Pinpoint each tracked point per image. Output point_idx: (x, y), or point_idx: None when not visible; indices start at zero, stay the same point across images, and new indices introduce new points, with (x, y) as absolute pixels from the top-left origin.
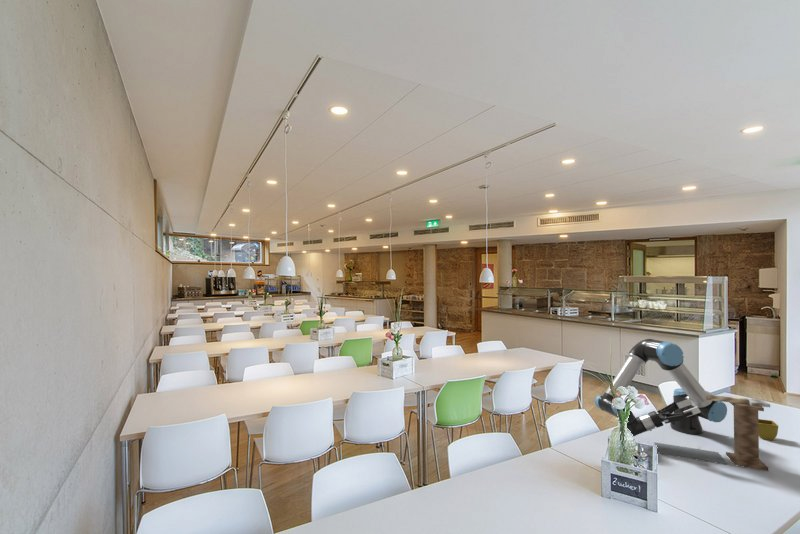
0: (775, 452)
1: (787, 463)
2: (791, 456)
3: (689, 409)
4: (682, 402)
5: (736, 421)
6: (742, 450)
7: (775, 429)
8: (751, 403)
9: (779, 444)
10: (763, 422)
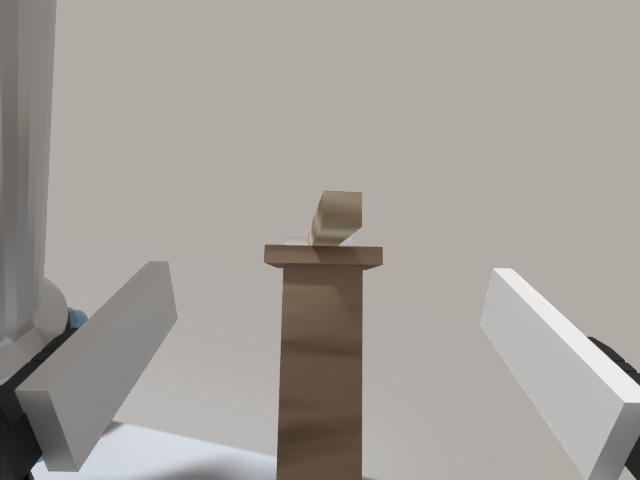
0: (171, 459)
1: (263, 462)
2: (200, 442)
3: (559, 323)
4: (117, 328)
5: (320, 354)
6: None
7: None
8: (352, 243)
9: (103, 436)
10: None
